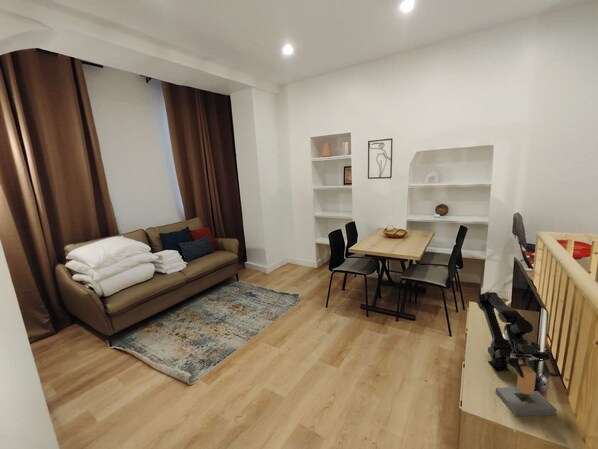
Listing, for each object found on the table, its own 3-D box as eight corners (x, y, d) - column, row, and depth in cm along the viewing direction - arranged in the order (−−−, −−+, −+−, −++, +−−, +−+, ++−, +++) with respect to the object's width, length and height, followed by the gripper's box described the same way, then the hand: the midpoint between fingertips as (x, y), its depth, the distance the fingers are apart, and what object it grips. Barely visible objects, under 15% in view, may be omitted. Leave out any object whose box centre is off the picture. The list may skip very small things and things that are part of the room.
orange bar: (516, 386, 118) (518, 366, 116) (526, 386, 118) (528, 366, 116) (523, 394, 115) (526, 373, 113) (533, 393, 114) (536, 373, 112)
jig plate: (495, 392, 124) (496, 387, 123) (532, 391, 123) (532, 386, 123) (515, 416, 112) (515, 410, 112) (555, 414, 111) (556, 409, 111)
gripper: (499, 333, 117) (512, 374, 109) (550, 335, 114) (567, 378, 105) (490, 338, 127) (500, 376, 118) (536, 340, 123) (551, 380, 114)
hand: (528, 378), depth 114 cm, fingers closed on orange bar, 4 cm apart
